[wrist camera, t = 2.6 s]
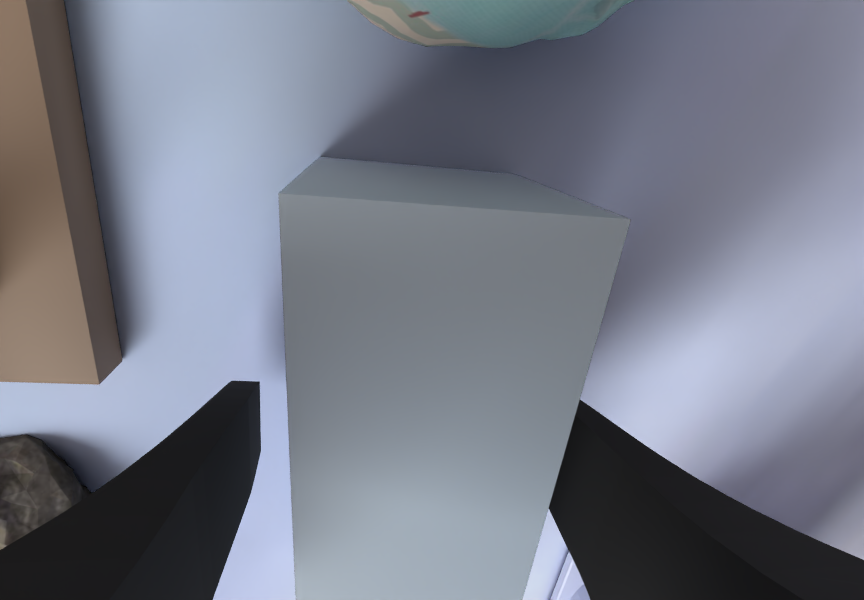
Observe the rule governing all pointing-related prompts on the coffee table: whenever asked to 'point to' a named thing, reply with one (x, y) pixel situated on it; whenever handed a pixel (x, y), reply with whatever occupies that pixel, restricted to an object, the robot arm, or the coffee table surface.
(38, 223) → the peg stand
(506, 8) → the stuffed animal
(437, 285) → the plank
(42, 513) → the geode
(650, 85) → the coffee table surface
